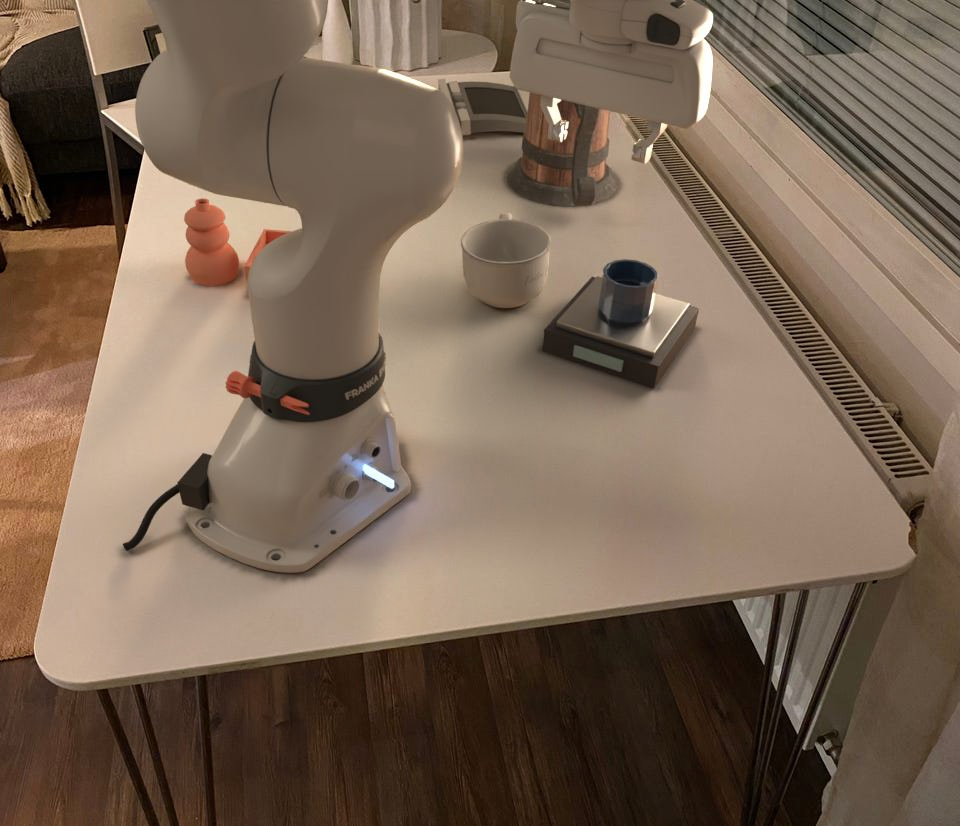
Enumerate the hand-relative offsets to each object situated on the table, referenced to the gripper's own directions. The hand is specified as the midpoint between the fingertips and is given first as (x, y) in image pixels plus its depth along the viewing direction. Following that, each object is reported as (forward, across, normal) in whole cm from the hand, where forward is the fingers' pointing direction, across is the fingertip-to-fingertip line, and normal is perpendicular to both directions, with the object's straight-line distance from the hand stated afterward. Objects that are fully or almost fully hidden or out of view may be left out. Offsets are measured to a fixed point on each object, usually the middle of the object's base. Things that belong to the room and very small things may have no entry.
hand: (598, 149), depth 100 cm
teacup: (+23, -12, +6) cm, 27 cm away
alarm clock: (+22, -39, +54) cm, 70 cm away
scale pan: (+20, +5, +3) cm, 21 cm away
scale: (+23, +5, +3) cm, 24 cm away
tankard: (+22, -17, +36) cm, 45 cm away
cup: (+19, +5, +3) cm, 20 cm away
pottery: (+23, -40, -8) cm, 47 cm away
